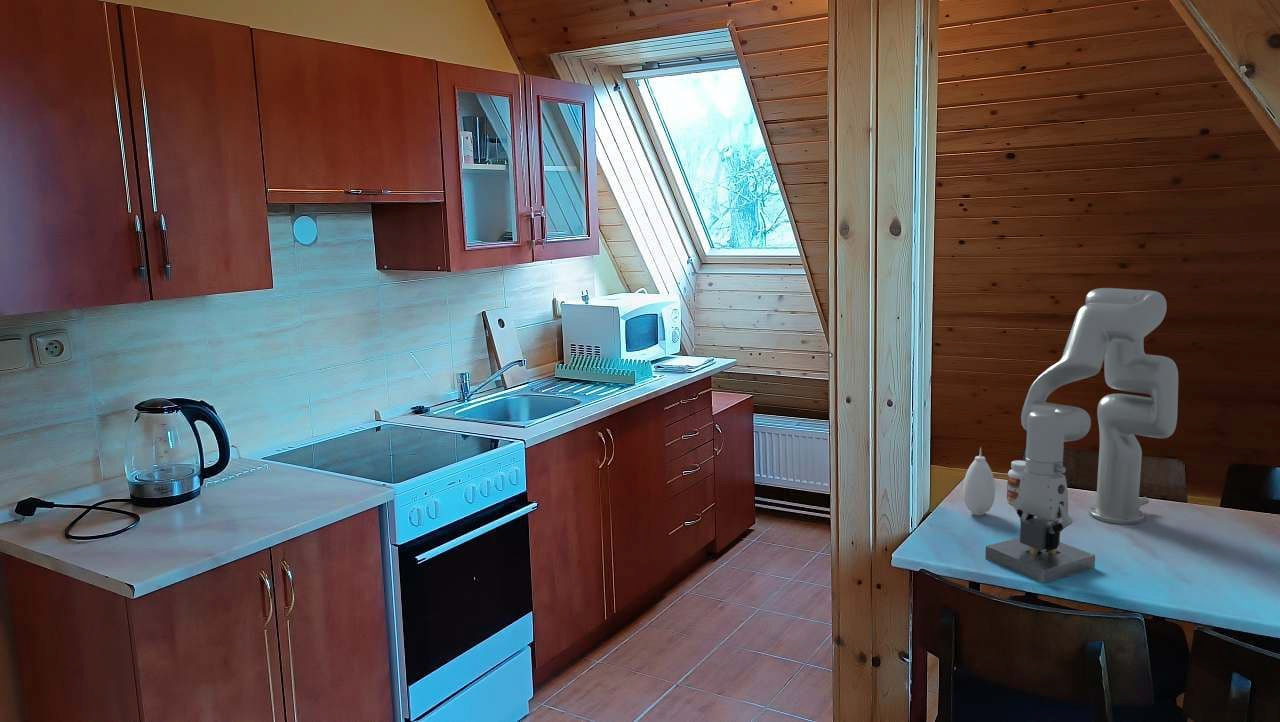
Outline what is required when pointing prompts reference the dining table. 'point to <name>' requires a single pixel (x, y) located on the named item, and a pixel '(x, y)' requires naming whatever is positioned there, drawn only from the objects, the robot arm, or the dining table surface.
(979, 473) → the air blower bulb
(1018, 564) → the socket
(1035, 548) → the plug
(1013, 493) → the pill bottle
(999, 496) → the dining table surface
